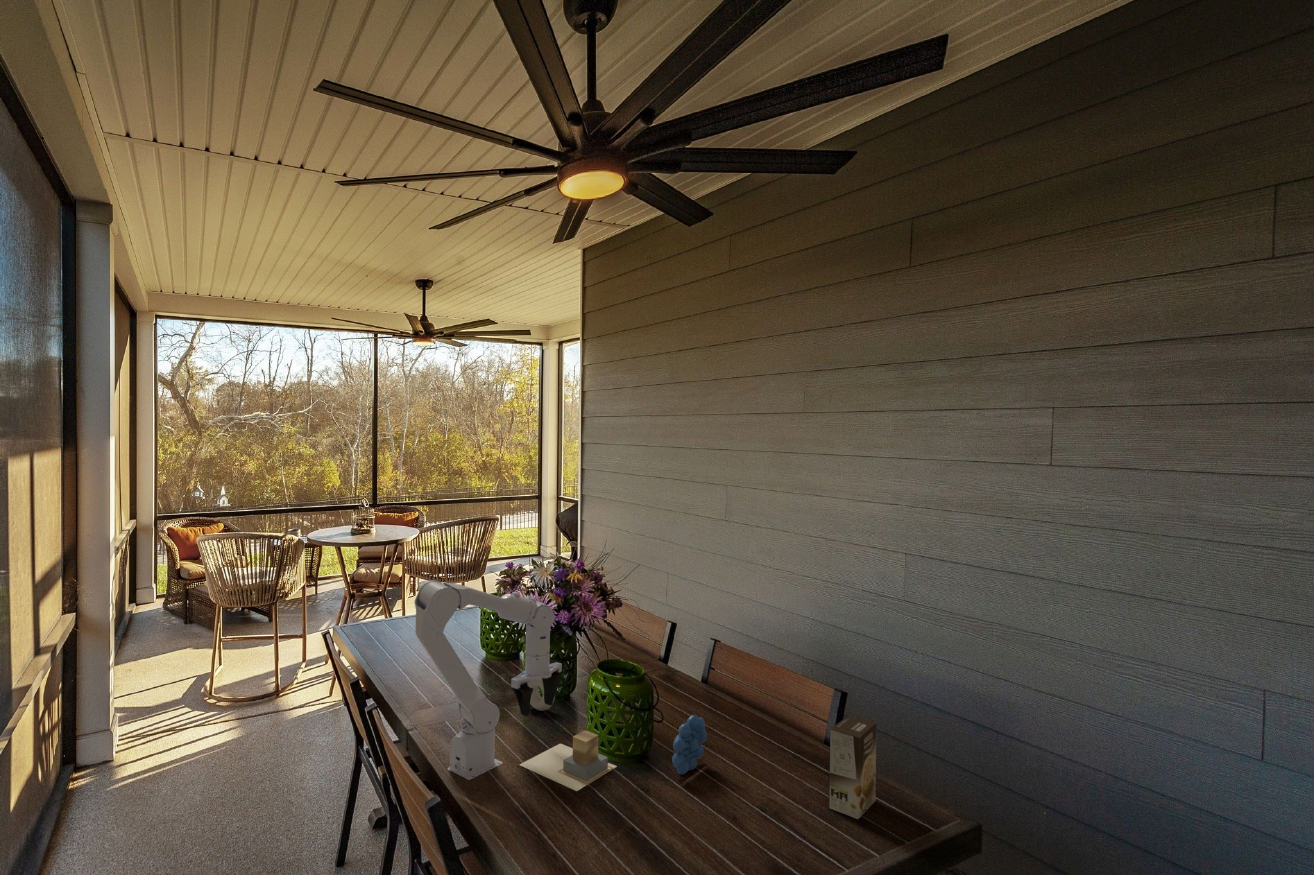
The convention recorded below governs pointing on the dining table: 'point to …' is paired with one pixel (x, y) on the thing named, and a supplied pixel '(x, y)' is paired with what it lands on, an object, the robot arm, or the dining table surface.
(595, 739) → the maple block
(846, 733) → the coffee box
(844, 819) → the dining table surface
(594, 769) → the slate slab
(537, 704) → the donut
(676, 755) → the blue lumpy rounded block
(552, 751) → the white flat sheet
